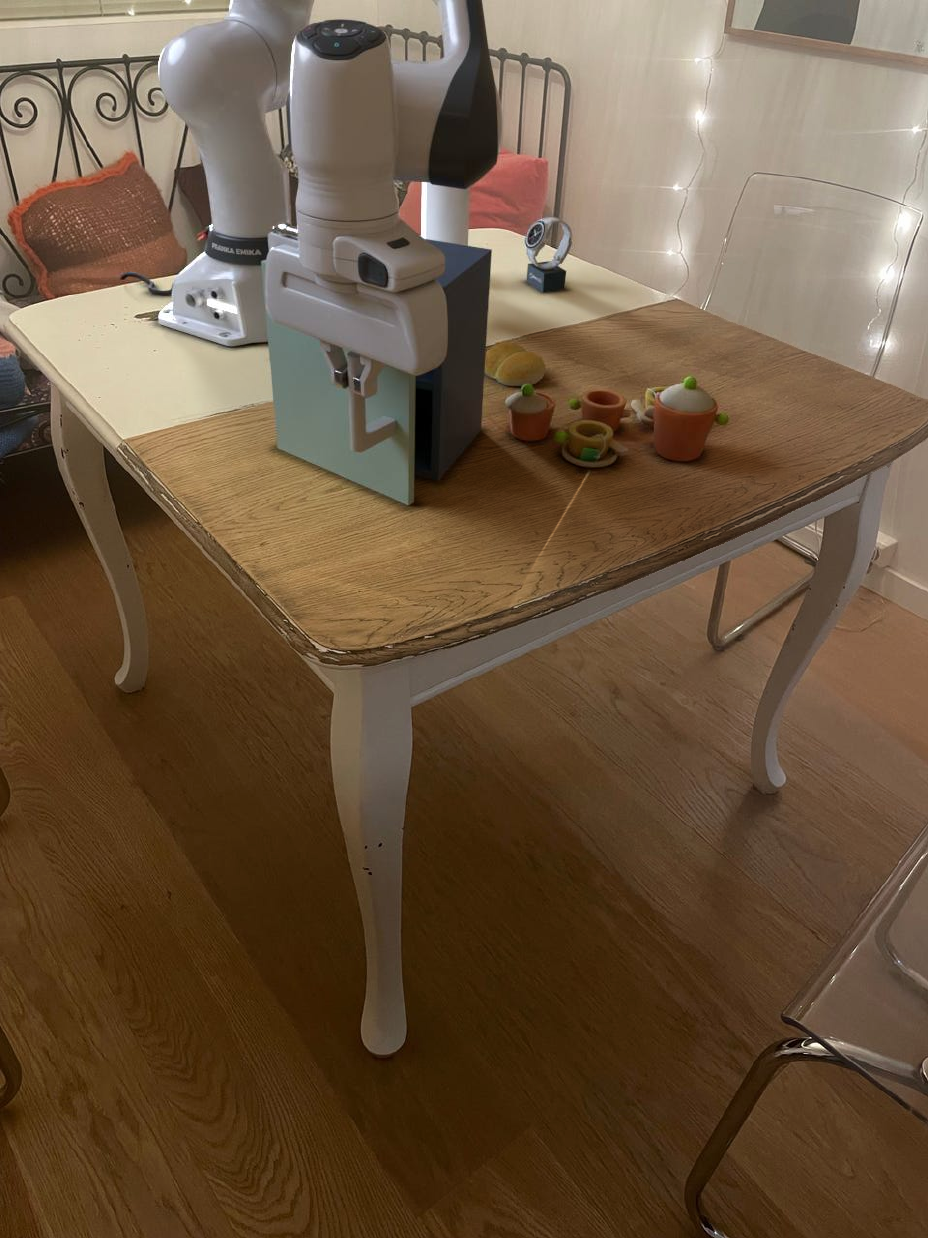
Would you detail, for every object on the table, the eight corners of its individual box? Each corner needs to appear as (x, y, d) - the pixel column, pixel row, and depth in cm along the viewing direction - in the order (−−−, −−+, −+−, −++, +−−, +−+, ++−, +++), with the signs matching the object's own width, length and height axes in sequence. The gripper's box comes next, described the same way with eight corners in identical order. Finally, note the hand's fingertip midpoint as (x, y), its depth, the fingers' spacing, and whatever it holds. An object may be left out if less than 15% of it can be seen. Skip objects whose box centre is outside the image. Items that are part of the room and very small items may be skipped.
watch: (516, 283, 162) (521, 216, 155) (556, 278, 165) (562, 212, 158) (532, 293, 158) (538, 225, 151) (573, 288, 161) (580, 221, 154)
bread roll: (514, 393, 126) (517, 365, 124) (471, 371, 132) (472, 343, 129) (558, 378, 131) (561, 351, 128) (514, 357, 136) (516, 330, 133)
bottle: (476, 283, 161) (486, 84, 142) (445, 294, 156) (451, 88, 137) (441, 272, 165) (447, 76, 146) (410, 282, 160) (412, 81, 141)
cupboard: (438, 481, 107) (444, 287, 93) (283, 445, 112) (267, 256, 98) (481, 430, 117) (491, 249, 104) (337, 399, 122) (330, 223, 109)
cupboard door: (373, 527, 98) (369, 324, 85) (240, 466, 107) (218, 273, 94) (414, 502, 103) (416, 305, 89) (283, 445, 112) (267, 258, 98)
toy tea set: (679, 406, 125) (693, 336, 119) (733, 462, 113) (752, 387, 108) (491, 421, 119) (496, 348, 114) (528, 481, 108) (535, 403, 102)
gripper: (241, 224, 85) (256, 369, 94) (411, 277, 76) (411, 433, 84) (293, 210, 89) (303, 351, 98) (460, 260, 79) (455, 410, 88)
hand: (354, 389), depth 91 cm, fingers closed on cupboard door, 2 cm apart
